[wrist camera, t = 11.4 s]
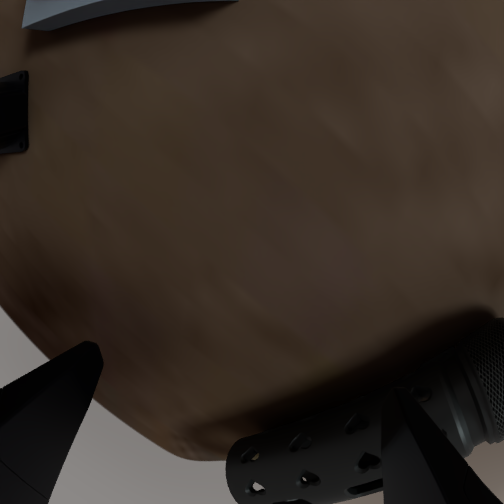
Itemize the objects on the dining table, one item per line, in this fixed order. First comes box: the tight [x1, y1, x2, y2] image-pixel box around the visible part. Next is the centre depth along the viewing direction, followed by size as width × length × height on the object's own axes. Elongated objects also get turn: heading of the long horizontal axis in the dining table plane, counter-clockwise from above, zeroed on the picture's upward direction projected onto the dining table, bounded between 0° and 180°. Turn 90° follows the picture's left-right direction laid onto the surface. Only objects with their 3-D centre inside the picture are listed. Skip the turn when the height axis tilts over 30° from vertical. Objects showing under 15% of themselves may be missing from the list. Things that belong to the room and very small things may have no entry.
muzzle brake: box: [226, 318, 504, 504], centre depth 20 cm, size 10×28×10 cm, turn 129°
